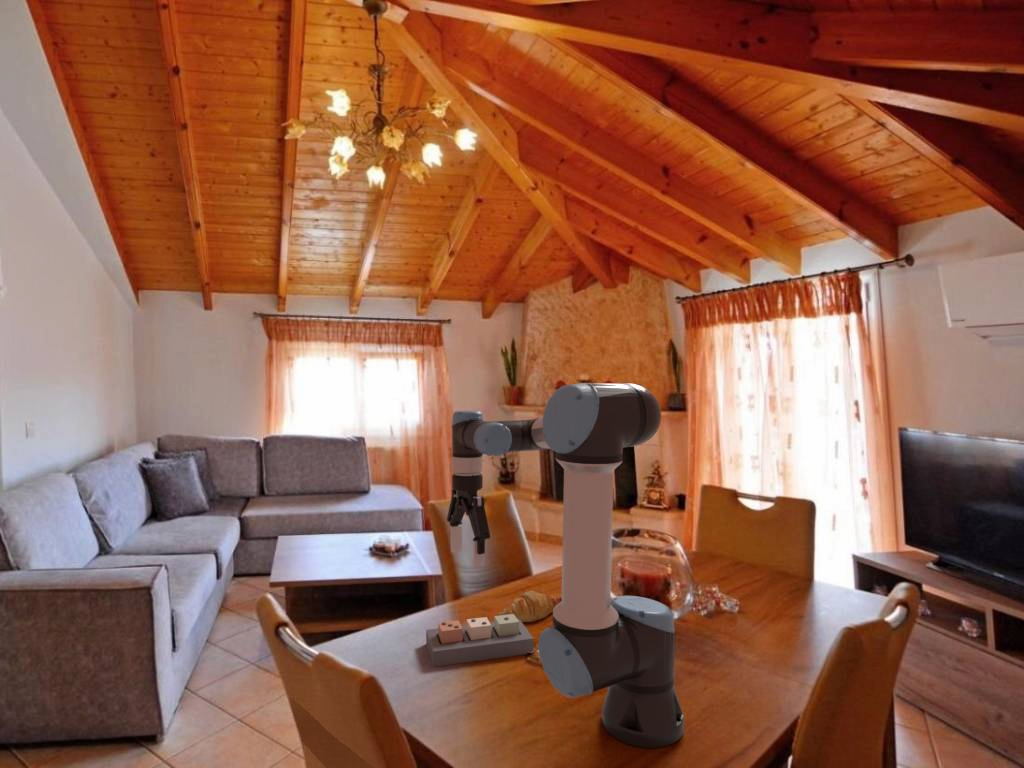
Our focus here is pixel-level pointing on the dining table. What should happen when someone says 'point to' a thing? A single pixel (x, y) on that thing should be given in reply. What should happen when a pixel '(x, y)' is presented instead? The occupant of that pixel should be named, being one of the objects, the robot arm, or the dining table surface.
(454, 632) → the button three
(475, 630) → the button two
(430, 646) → the console
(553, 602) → the croissant
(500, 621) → the button one
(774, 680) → the dining table surface
